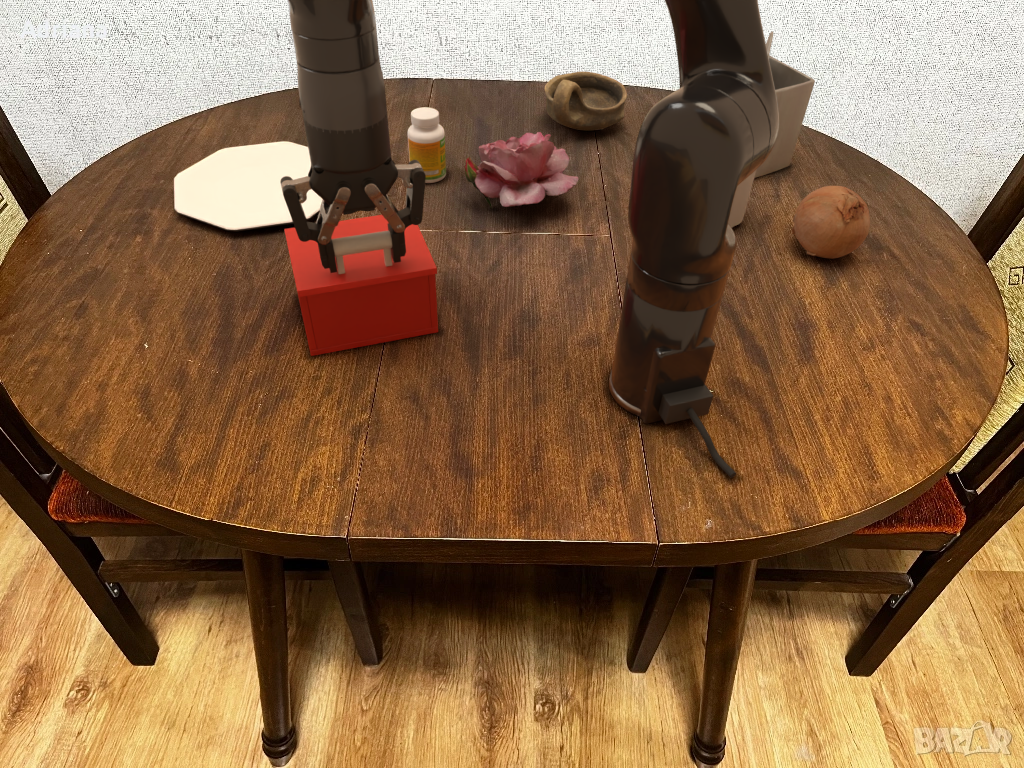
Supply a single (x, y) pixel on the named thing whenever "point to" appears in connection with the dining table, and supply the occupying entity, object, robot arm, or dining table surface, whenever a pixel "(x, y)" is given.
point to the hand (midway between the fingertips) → (364, 263)
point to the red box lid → (358, 257)
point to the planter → (786, 111)
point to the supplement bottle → (427, 143)
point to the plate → (244, 186)
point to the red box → (370, 314)
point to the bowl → (585, 100)
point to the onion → (831, 222)
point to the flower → (520, 170)
